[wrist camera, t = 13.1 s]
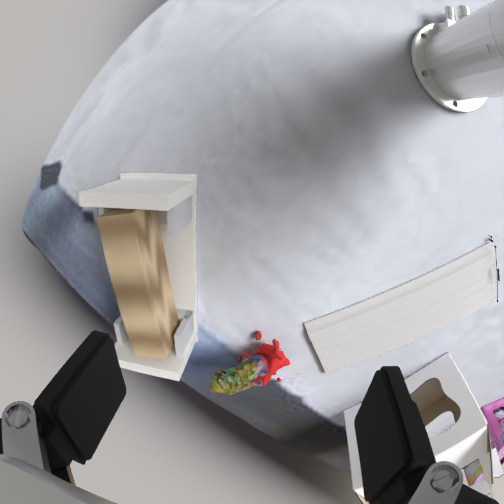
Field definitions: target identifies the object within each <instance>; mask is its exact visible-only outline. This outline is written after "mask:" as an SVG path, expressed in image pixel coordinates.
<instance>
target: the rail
mask: <svg viewBox="0 0 504 504" xmlns="http://www.w3.org/2000/svg"><path fill="white" fill-rule="evenodd" d="M96 218H97V223H98V228H99V233H100V237H101V242H102V246H103V251H104V255H105V259H106V263H107V267H108V271H109V275H110V278H111V282H112V286H113V289H114V293H115V296H116V300H117V303H118V306H119V310H120V313H121V316H122V319H123V322H124V325H125V328H126V331H127V334H128V337H129V340H130V343H131V346H132V349H133V351H134V354H135V356H142V357H152V358H162V359H166V358H167V356H168V354H169V352H170V350H171V348H172V346H173V344H174V342H175V341H174V334H175V333H176V331H177V329H178V327H179V325H180V323H179V319H178V314H177V310H176V306H175V301H174V296H173V292H172V287H171V282H170V277H169V272H168V267H167V262H166V257H165V251H164V246H163V240H162V234H161V228H160V222H159V216H158V210H144V209H125V208H115V209H113V210H110V211H108V212H106V213H104V214H102V215H100V216H98V217H96Z"/></svg>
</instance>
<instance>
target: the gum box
mask: <svg viewBox="0 0 504 504" xmlns="http://www.w3.org/2000/svg"><path fill="white" fill-rule="evenodd" d="M481 411H482V413H483V415H484V417H485V419H486V421H487V423H488V427H489V434H490V442H491V450H492V449H494V448H495V447H496V449H497V453H498V456H499V459H500V463H501V465H502V464H503V463H504V398H502V399H499V400H497V401H495V402H492V403H490V404H488V405H486V406H483V407H482V409H481ZM463 469H464V472H465V475H466V478H467V481H468V485H469V486H471V485H473V484H474V483H475V482H477V481H479V480H481V479H482V477H483V469H482V467H481V464H480V461H479V459H478V460H477V461H475V462H473V463H472V464H470V465H468V466H466V467H465V468H463Z"/></svg>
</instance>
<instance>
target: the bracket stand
mask: <svg viewBox="0 0 504 504" xmlns="http://www.w3.org/2000/svg"><path fill="white" fill-rule="evenodd" d="M79 206H80V207H98V216H100V215H102V214H104V213H106V212H108V211H110V210H113V209H115V208H125V209H144V210H158V216H159V222H160V228H161V234H162V240H163V246H164V251H165V257H166V262H167V267H168V272H169V277H170V282H171V287H172V292H173V296H174V301H175V306H176V310H177V314H178V319H179V323H180V325H179V327H178V329H177V331H176V333H175V334H174V341H175V342H174V344H173V346H172V348H171V350H170V352H169V354H168V356H167V358H166V359H162V358H152V357H142V356H135V354H134V351H133V349H132V346H131V343H130V340H129V337H128V334H127V331H126V328H125V325H124V322H123V319H122V316H121V315H120V316H119V318H118V319H117V320H116V321H115V322H114V328H115V332H116V337H117V342H116V343H115V349H116V353H117V357H118V361H119V365H120V367H121V368H125V369H128V370H132V371H136V372H141V373H145V374H150V375H153V376H158V377H163V378H167V379H172V380H177V381H180V378H181V376H182V373H183V371H184V368H185V366H186V364H187V361H188V359H189V356H190V354H191V352H192V349H193V347H194V344H195V342H196V343H197V342H198V318H197V278H196V208H197V174H186V173H120V179H119V180H115V181H112V182H109V183H106V184H103V185H100V186H97V187H94V188H91V189H88V190H85V191H82V192H79Z"/></svg>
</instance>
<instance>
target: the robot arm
mask: <svg viewBox="0 0 504 504" xmlns="http://www.w3.org/2000/svg"><path fill="white" fill-rule="evenodd" d="M444 9H445V15H446V20H445V22H443V23H432V24H428V25H426V26H424V27H423V28H421V29H420V30H419V31H418V32H417V33H416V35H415V36H414V39H413V41H412V46H411V58H412V63H413V67H414V70H415V73H416V75H417V77H418V79H419V81H420V83H421V84H422V86H423V87H424V89H425V90H426V91H427V92H428V94H429V95H430V96H431V97H432V98H433V99H434V100H436V101H437V102H438V103H439V104H441V105H442V106H444V107H446V108H448V109H450V110H453V111H457V112H470V111H474V110H476V109H478V108H479V107H480V106H482V105H483V104H484V102H485V101H486V99H487V98H489V97H499V96H504V0H495V1H493V2H491V3H489V4H488V5H486V6H484V7H482V8H480V9H478V10H476V11H474V12H473V13H471V12H470V9H469V8H468V7H466V6H462V5H460V6H458V7H457V10H458V17H459V20H458V21H457V22H456V21H455V11H454V8H452V7H450V6H446V7H445V8H444ZM422 74H423V75H422ZM125 395H126V386H125V383H124V379H123V376H122V372H121V368H120V365H119V361H118V357H117V353H116V349H115V345H114V341H113V339H111V338H110V336H109V334H107V333H103V332H99V331H93V332H91V334H90V335H89V336H88V337H87V338H86V339H85V340H84V342H83V343H82V344H81V345H80V346H79V348H78V349H77V350H76V351H75V352H74V353H73V355H72V356H71V357H70V358H69V359H68V360H67V362H66V363H65V364H64V365H63V367H62V368H61V369H60V370H59V371H58V373H57V374H56V375H55V376H54V378H53V379H52V380H51V381H50V382H49V384H48V385H47V386H46V388H45V389H44V390H43V391H42V393H41V394H40V395H39V397H38V398H37V399H36V400H35V402H34V403H35V404H34V405H33V406H31V405H30V404H29V403H27V402H24V401H17V402H13V403H11V404H10V405H8V406H7V407H6V408H5V410H4V411H3V413H2V418H0V504H117V503H114V502H112V501H109V500H107V499H104V498H102V497H99V496H97V495H95V494H92V493H90V492H88V491H86V490H83V489H81V488H79V487H77V486H76V485H75V482H74V478H73V475H72V472H71V468H70V463H71V461H72V460H74V461H76V462H78V463H81V464H83V465H84V464H85V462H86V460H90V459H91V458H92V456H93V454H94V452H95V450H96V449H97V447H98V445H99V443H100V441H101V439H102V437H103V435H104V434H105V432H106V430H107V428H108V426H109V424H110V422H111V420H112V419H113V417H114V415H115V413H116V411H117V410H118V408H119V406H120V404H121V402H122V401H123V399H124V397H125ZM354 427H355V433H356V440H357V446H358V453H359V460H360V467H361V475H362V483H363V491H364V498H365V500H366V501H369V504H499V503H498V502H497V501H496V500H494V499H492V498H490V497H488V496H486V495H484V494H482V493H480V492H478V491H476V490H474V489H472V488H470V487H468V486H466V485H464V484H462V483H463V475H462V472H461V470H460V469H459V468H458V466H457V465H455V464H453V463H452V462H448V461H440V462H437V463H436V459H435V456H434V453H433V450H432V447H431V444H430V441H429V438H428V435H427V432H426V429H425V426H424V423H423V420H422V417H421V415H420V412H419V409H418V406H417V404H416V403H415V402H414V401H412V399H411V396H410V393H409V391H408V388H407V386H406V383H405V380H404V378H403V375H402V373H401V370H400V368H399V367H398V366H383V367H382V368H381V369H380V370H377V371H376V373H375V375H374V377H373V380H372V382H371V384H370V386H369V389H368V391H367V393H366V395H365V398H364V400H363V402H362V404H361V406H360V408H359V410H358V412H357V415H356V417H355V420H354Z"/></svg>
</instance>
